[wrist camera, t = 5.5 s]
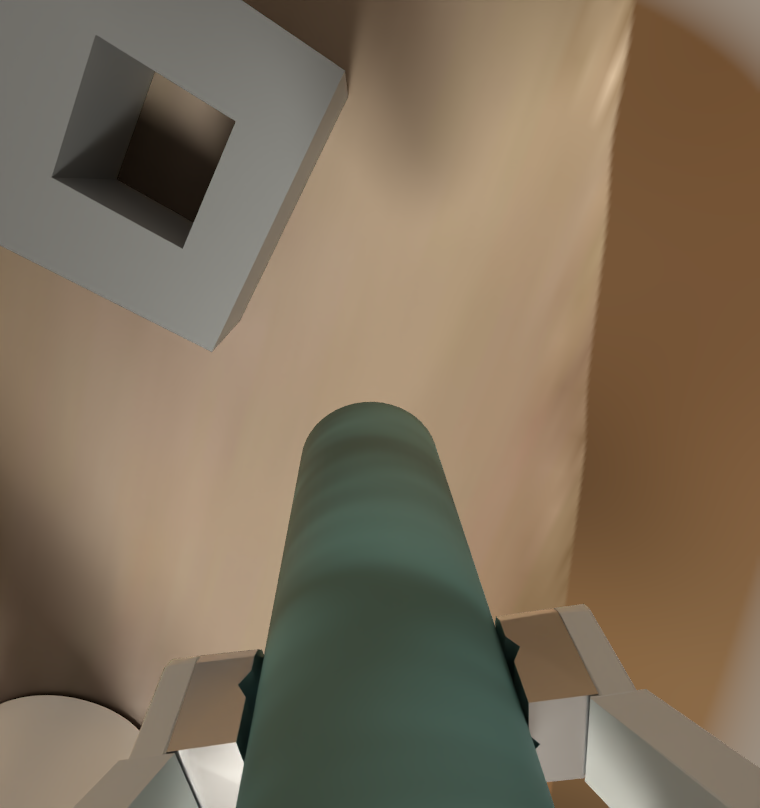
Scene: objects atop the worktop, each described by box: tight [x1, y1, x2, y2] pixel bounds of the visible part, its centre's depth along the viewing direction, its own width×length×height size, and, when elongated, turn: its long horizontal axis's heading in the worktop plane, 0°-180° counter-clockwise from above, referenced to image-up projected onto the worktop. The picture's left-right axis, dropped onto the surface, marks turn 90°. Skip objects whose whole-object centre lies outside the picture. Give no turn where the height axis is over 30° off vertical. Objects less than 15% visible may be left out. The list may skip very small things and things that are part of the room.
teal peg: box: [236, 402, 555, 808], centre depth 8 cm, size 4×4×14 cm
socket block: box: [0, 0, 348, 352], centre depth 22 cm, size 13×21×6 cm, turn 60°
